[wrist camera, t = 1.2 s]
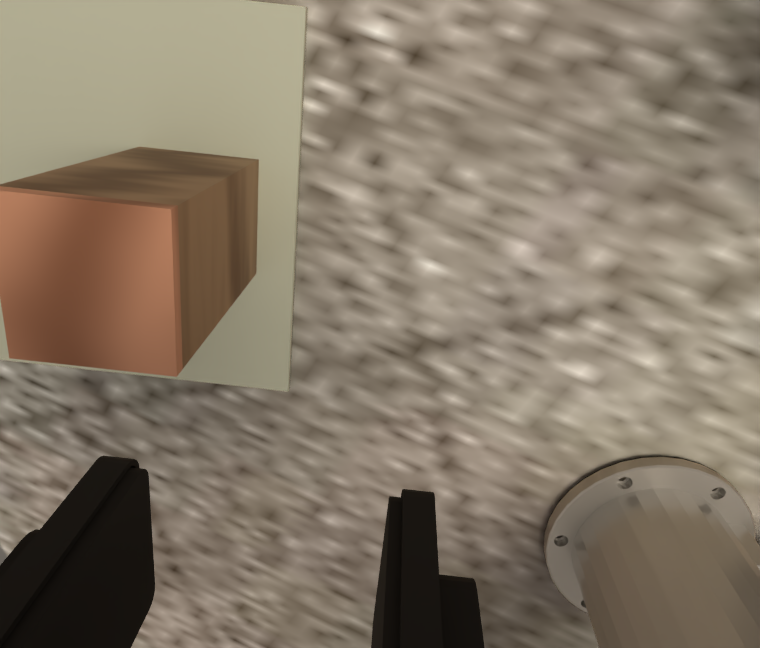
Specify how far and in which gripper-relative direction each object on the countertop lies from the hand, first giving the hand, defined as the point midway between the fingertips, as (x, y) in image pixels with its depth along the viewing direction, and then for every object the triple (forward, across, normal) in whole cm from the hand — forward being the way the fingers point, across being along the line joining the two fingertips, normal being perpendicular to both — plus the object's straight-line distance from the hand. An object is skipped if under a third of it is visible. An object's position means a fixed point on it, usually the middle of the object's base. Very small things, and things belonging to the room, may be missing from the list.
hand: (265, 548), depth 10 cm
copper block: (+23, +8, 0) cm, 24 cm away
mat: (+23, +14, 0) cm, 27 cm away
